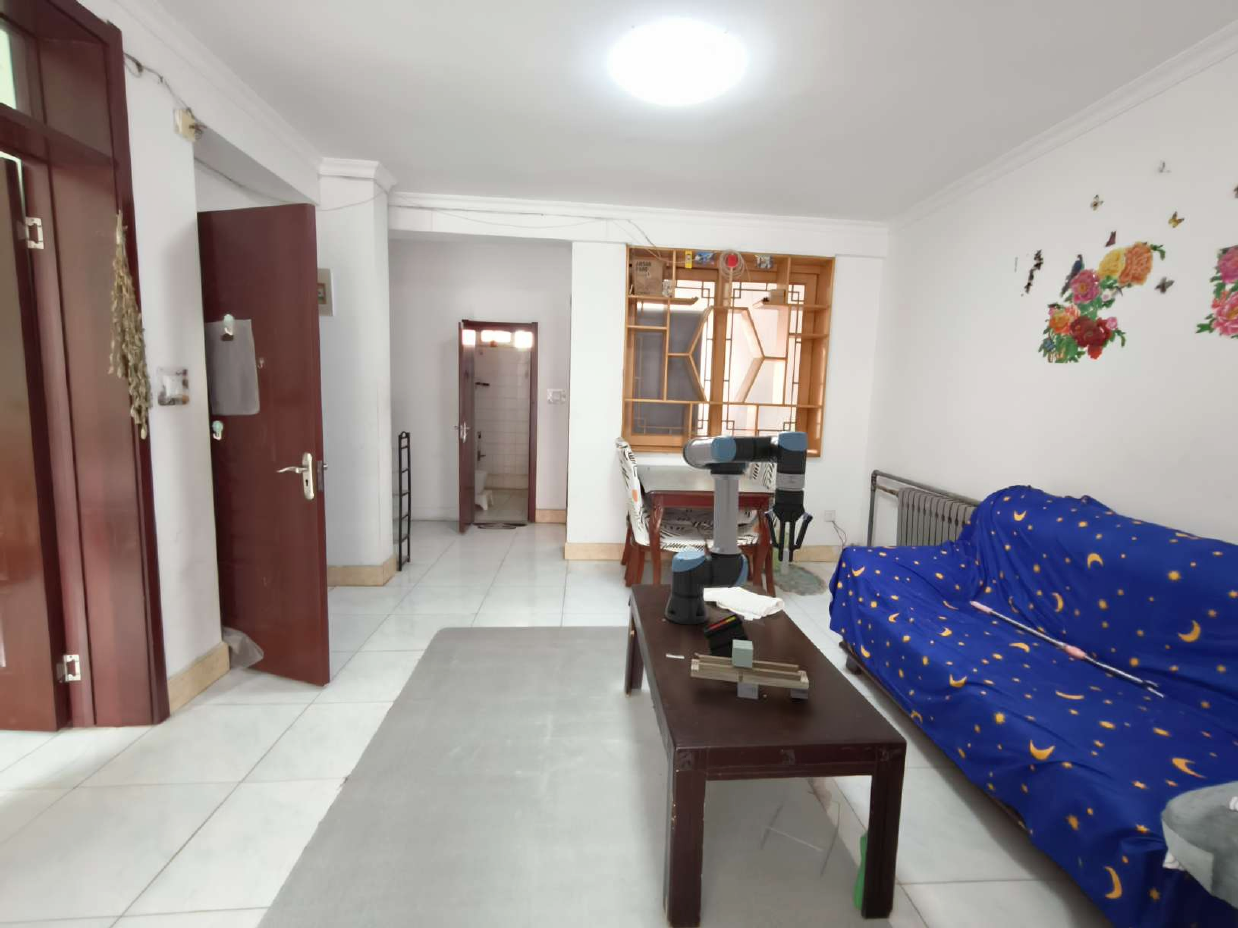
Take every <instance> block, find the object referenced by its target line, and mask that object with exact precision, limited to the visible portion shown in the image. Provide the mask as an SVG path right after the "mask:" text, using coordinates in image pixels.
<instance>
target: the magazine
mask: <svg viewBox="0 0 1238 928" xmlns="http://www.w3.org/2000/svg"><path fill="white" fill-rule="evenodd" d="M702 629H703V635H704V636H705V638H706V640H708V643H707V647H708V648H709V652H710V653H709V654H708V656H717V657H727V658H732V650H733V640H742V641H749V638H748V636H747V634H746V633H745V628H744V626H743V621H742V619H741V618H740V616H739V615H738V614H737V613H733V614H731V615H729V616H728V617H725V618H722V619H721V620H719V621H716V622H714V623H712V624H709V625H707V626H705V627H703V628H702Z"/></svg>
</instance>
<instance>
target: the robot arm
mask: <svg viewBox="0 0 1238 928" xmlns="http://www.w3.org/2000/svg"><path fill="white" fill-rule="evenodd" d="M808 445H809V444H808V434H807V433H806V432H804V431H792V430H791V431H789V430H787V431H786V430H784V431H780V432H779V434H778V436H777V435H765V436H764V435H763V436H762V435H757V436H756V435H749V436H748V435H746V436H745V435H725V434H723V435H716V436H700V437H698V436H697V437H695V438H692V439H689V440H688V441H686V443H685V444H684V446H683V447H682V453H681V454H682V458H683V460H684V462H685V464H687V465H688V466H690V467H692V468H695V469H697V470H709V471H710V476H711V477H712V478H713V480H714V484H713V485H714V486H713V487H714V490H713V493H714V494H713V539H712V540H713V543H712V546H711V547H709V548H708V554H707V555H706V553H705V552H704V551H702V550H699V549H698V550H694V549H691V550H690V549H689V550H688V549H687V550H683V551H679V552H677V553H676V554H675V555H674V556H673V557H672V562H671V578H670V579H671V582H670V583H671V585H670V589H671V590H670V595H669V599H668V601H667V604H666V606H665V614H664V615H665V617H666V619H668V621H671V622H674V623H677V624H680V625H681V624H682V625H699V624H702V623H705V622H706V621H707V620H708V614H709V611H708V608H707V604H706V601H705V597H704V594H705V593H704V592H705V590H704V589H724V588H728V589H731V588H739V587H741V586H743V584H744V583H745V581H746V580H747V577H748V571H749V565H748V559H747V557H746V556H745V555H744V554H743V551H742V549H741V548H740V547H739V546H738V543H739V542H738V541H739V536H738V535H739V529H738V528H739V494H740V493H739V492H740V490H739V485H740V484H739V483H740V479H741V478H742V477H743V476H744V471H747V470H748V468H749V467H750V463H761V464H762V463H764V464H765V463H770V464H771V463H772V464H773V463H774V464H776V472H775V473H776V474H775V486H776V488H775V490H774V504H773V505H772V507H771V509H769V510H768V511H764V513H763V516H764V518H766V520H767V525H768V531H769V535H770V541H771V545H772V547H773V549H774V548H775V549H778V550H777V552H778V553H777V559H778V561H779V562H781V568H780V572H781V574H782V575H787V576H788V574H789V563H793V561H794V552H795V550H801V548H802V545H803V543H804V539H805V537H806V533H807V529H808V527H809V524H811V522H812V521H813V519H814V516H813V515H812V514H811V513H808V512H807V511H806V509H805V506H804V501H805V491H804V489H805V486H806V483H805V482H806V469H807V457H808V448H809V446H808ZM774 515H775V517H776V518H777V519H778V520H779V534H778V541H777V535H776V531H775V526H774V521H773V518H774ZM801 517H802V522H801V526H800V528H799V532H798V535H797V537H796V540H795V535H796V533H795V532H796V523H797V521H799V519H800V518H801ZM787 523H789V525H788V526H789V527H788V528H789V529H788V543H787V544H788V545H787V547H788V548H785V540H786V539H785V538H786V525H787Z"/></svg>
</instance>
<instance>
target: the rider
mask: <svg viewBox="0 0 1238 928" xmlns="http://www.w3.org/2000/svg"><path fill="white" fill-rule="evenodd" d="M753 656H754V646H753V641H750V640H747V641H742V640H733V650H732V664H733V666H739V667H748V668H752V661H753V660H754V657H753Z"/></svg>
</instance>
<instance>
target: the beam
mask: <svg viewBox="0 0 1238 928" xmlns="http://www.w3.org/2000/svg"><path fill="white" fill-rule="evenodd" d="M698 657H699V659H695V658H692V659H691V667H690V677H692V678H701V679H710V680H717V681H727V682H735V683H736V686H737V687H736V688H737V698H743V699H744V698H745V699H754V700H758V698H759V685H761V686H763V685H764V686H769V687H771V686H772V687H777V688H778V687H779V688H786V689H787V688H788V691H789V693H790V695H789V696H790V698H796V699H804V700H805V699H806V700H808V691H809V687H810V682H809V679H808V675H807V672H806V671H805V670H799V665H798V664H790V663H783V662H772V661H761V660H754V659H753V661H752V668H748V667H739V666H733V664H732V658H727V657H717V656H709V654H708V655H706V654H699V656H698Z"/></svg>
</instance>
